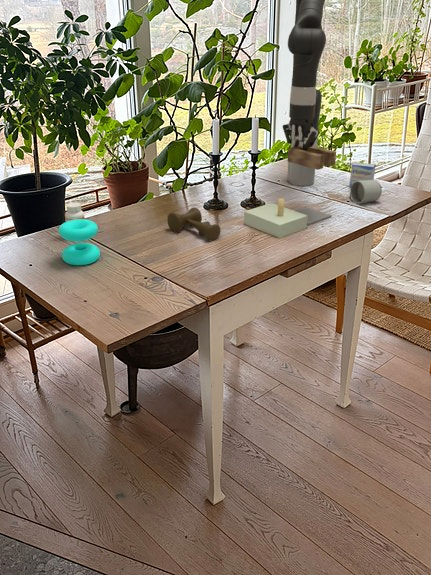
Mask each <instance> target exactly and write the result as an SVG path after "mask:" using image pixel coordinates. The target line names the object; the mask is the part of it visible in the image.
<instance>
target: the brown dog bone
mask: <svg viewBox="0 0 431 575" xmlns="http://www.w3.org/2000/svg"><path fill="white" fill-rule="evenodd" d="M202 217H203V216H202V212H201V210H199V209H198V208H197V207H191V208H190V209H189V210H188V211H187V212H185V213H183V214H179V213H176V212H170V213H168V215H167V225H168V228H169V229H170V231H172V232H173V233H178V232H180V231H181V229H182V228H183V227H184V226H186V225H187V226H188V225H190V226H191V227H193V228H194V229H196V230H197V231H198V234H199V236H205V237H206V238H207V240H208V241H209V242H213V241H216V240H218V238H219V237H220V235H221V227H220V225H219V224H216V223H215V224H211V222H210V221H208V220H207V221H203V222H202V219H203V218H202Z"/></svg>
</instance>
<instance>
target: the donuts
mask: <svg viewBox="0 0 431 575" xmlns="http://www.w3.org/2000/svg"><path fill="white" fill-rule="evenodd" d="M98 229H99V227H98V225H97V224H96V222H95V221H92V220H90V219H76V220H70V221H67V222H66V221H65V222H63V223H62V224H61V225H60V226H59V227H58V234H59V235H60V237H61V238H62V239H64V240H66V241H69V242H76V243H72V244H70V245H67V246H66V247H65V248H64V249H63V250H62V253H61V257H62V260H63V261H64V262H65V263H66V264H69V265H71V266H86V265H89V264H92V263H94V262H96V261H98V259H100V256H101V251H100V248H98V246H97V245H95V244H93V243H89V242H85V241H88V240H90V239H92V238H94V237H95V236H96V234H98Z"/></svg>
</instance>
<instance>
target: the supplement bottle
mask: <svg viewBox="0 0 431 575" xmlns="http://www.w3.org/2000/svg"><path fill="white" fill-rule="evenodd" d="M64 214H65V215H64V217H65V222H67V221H70V220H76V219H85V212H84V211H83V210H82V205H81V203H80V202H70V203H67V204H66V212H64Z"/></svg>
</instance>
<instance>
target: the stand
mask: <svg viewBox="0 0 431 575" xmlns="http://www.w3.org/2000/svg"><path fill="white" fill-rule="evenodd" d="M277 200H278V202H277V204H276V203H273V202H271V203H267V204H263V205H260V206H258V207H254V208H251V209H248V210H244V211H243V213H244V214H243V225H246V226H249V227H251V228H253V229H256V230H259V231H261V232H264V233H266V234H269V235H271V236H273V237H275V238H279V239H280V238H283V237H286V236H289V235H292V234H294V233H296V232H299V231H303V230H305V229H307V228H308V225H307V218H308V216H307V215H305V214H302V213H299V212H296V211H293V210H294V209H290V208H288V207H285V198H284V197H283V198H281V197H280V198H278V199H277Z"/></svg>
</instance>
